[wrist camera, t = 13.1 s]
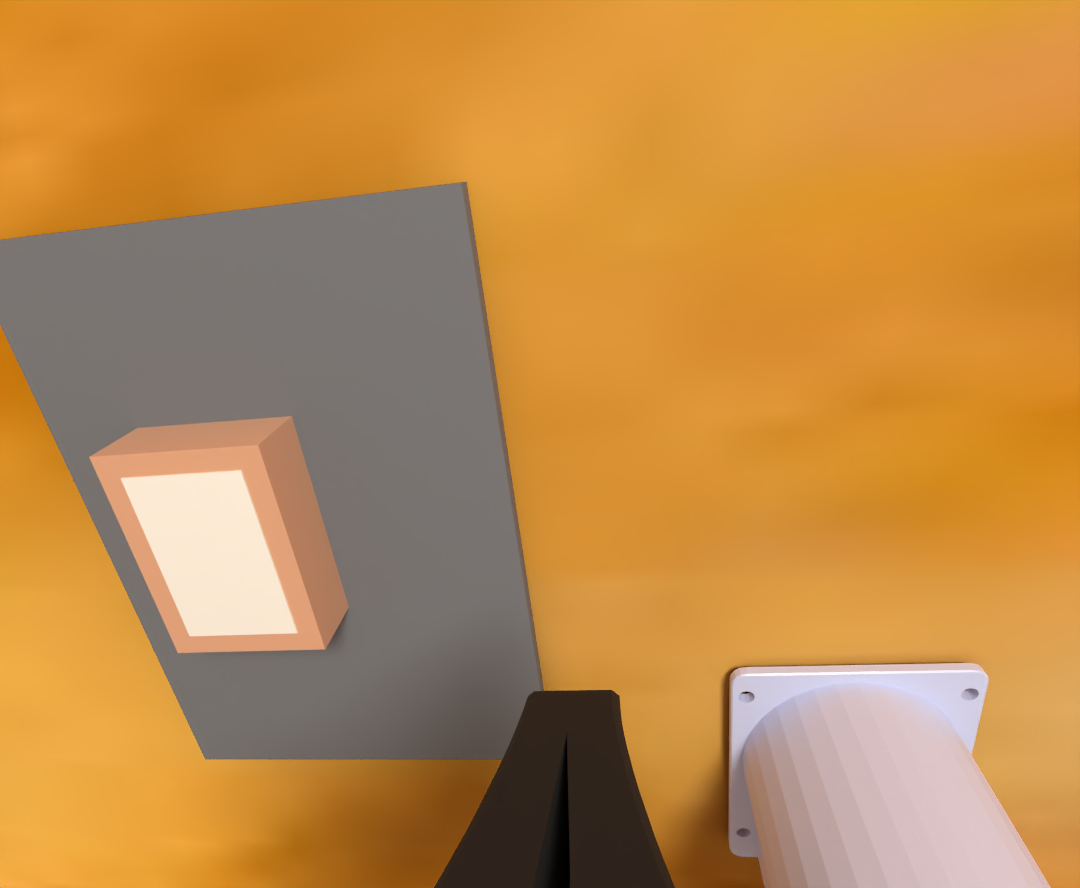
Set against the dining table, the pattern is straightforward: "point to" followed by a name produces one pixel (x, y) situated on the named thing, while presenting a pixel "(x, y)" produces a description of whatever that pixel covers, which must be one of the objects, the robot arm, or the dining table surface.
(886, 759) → the robot arm
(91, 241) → the mat
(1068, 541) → the dining table surface
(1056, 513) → the dining table surface
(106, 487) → the tile
